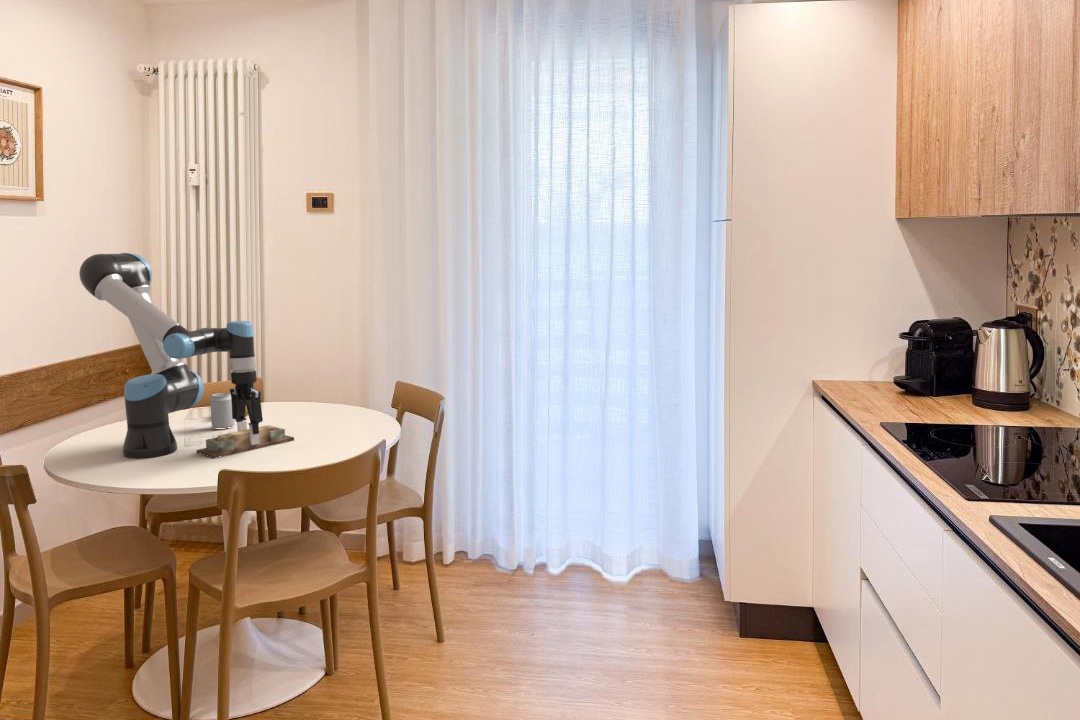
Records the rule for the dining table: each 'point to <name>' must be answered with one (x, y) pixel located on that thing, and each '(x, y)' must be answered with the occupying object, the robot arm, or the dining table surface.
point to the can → (221, 410)
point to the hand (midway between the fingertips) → (249, 442)
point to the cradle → (228, 448)
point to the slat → (246, 436)
